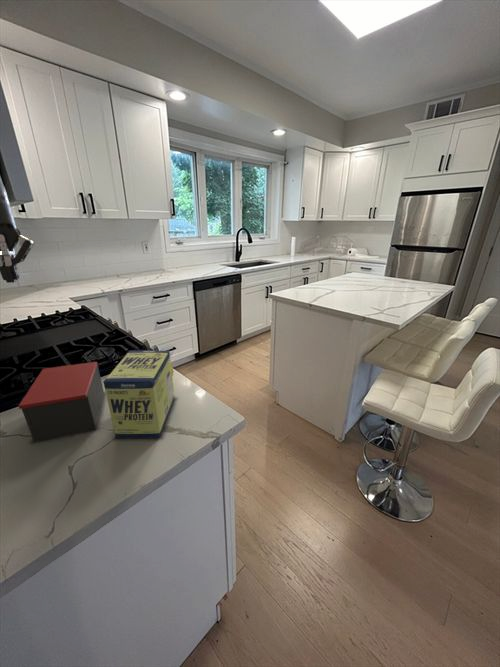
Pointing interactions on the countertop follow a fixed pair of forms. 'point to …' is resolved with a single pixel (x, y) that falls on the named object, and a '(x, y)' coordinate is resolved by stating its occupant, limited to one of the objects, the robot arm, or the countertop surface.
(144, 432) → the protein box
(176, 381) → the countertop surface
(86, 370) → the lid
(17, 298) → the countertop surface
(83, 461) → the countertop surface
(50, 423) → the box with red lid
